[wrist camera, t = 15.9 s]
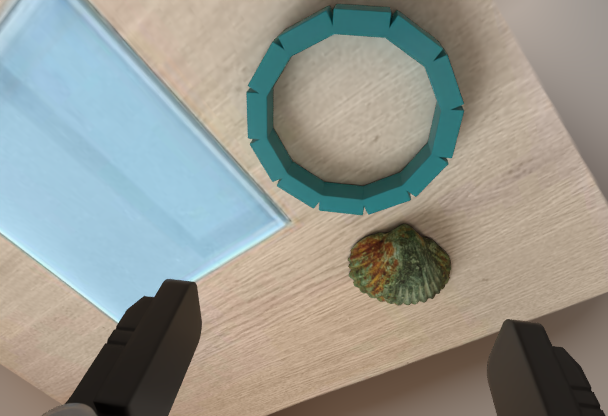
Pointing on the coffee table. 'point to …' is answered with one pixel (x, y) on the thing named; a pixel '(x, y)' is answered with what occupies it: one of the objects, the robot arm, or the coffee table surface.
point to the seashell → (399, 266)
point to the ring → (382, 191)
